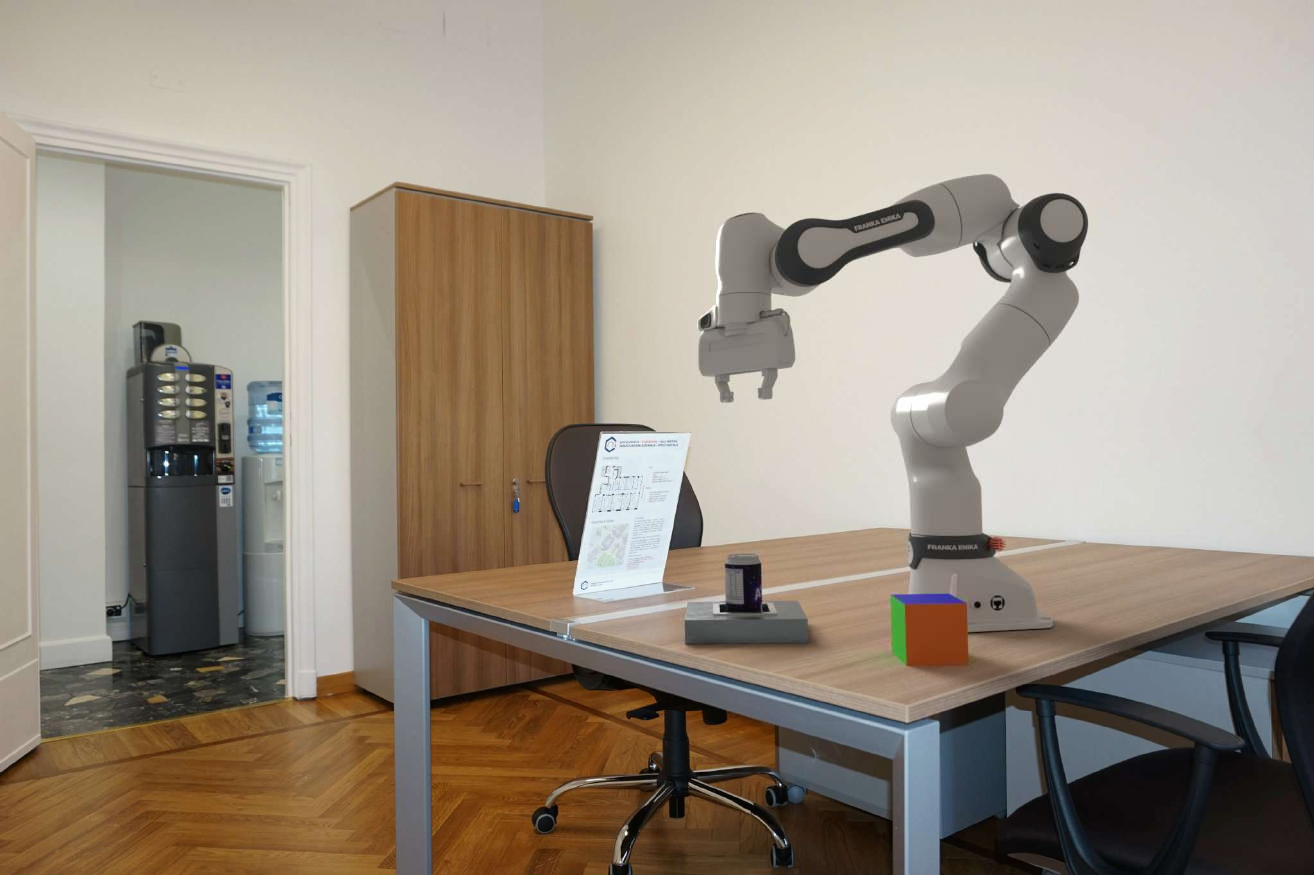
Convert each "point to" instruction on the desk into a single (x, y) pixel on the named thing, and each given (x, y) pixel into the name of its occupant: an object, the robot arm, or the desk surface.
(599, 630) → the desk surface
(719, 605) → the housing
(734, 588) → the beverage can
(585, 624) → the desk surface
